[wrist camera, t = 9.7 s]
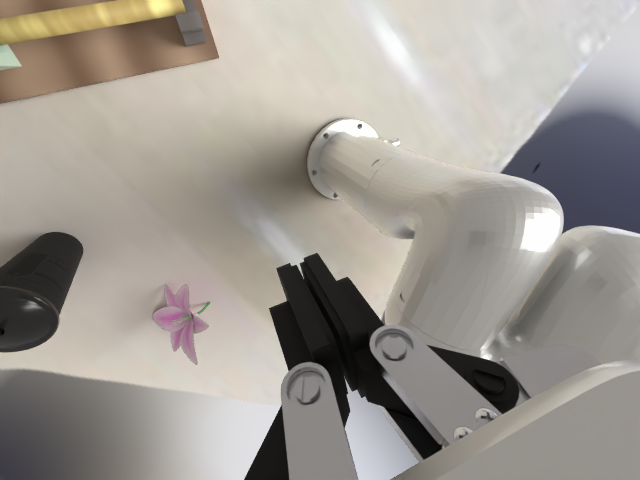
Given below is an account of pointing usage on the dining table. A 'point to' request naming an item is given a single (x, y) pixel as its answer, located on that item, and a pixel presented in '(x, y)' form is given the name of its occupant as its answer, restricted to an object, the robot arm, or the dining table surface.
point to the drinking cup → (36, 290)
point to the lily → (180, 321)
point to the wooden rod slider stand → (97, 41)
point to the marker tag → (8, 58)
